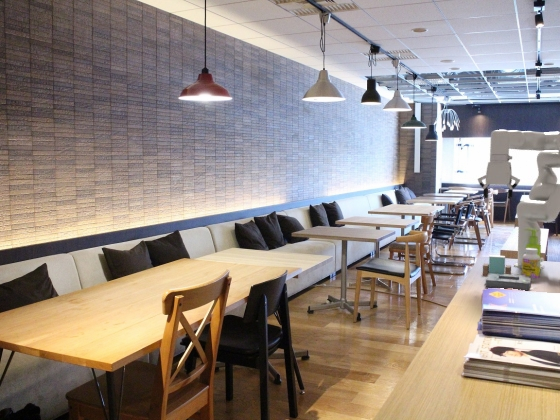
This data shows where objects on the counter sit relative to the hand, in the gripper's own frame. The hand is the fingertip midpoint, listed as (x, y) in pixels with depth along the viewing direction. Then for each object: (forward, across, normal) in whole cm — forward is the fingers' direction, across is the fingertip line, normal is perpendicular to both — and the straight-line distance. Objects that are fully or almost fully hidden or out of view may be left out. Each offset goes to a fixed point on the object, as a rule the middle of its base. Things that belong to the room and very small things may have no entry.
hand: (497, 198), depth 237 cm
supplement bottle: (+34, -14, 0) cm, 37 cm away
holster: (+34, -2, +3) cm, 34 cm away
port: (+34, -9, +17) cm, 40 cm away
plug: (+33, -2, +3) cm, 33 cm away
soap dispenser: (+34, -13, -10) cm, 38 cm away
